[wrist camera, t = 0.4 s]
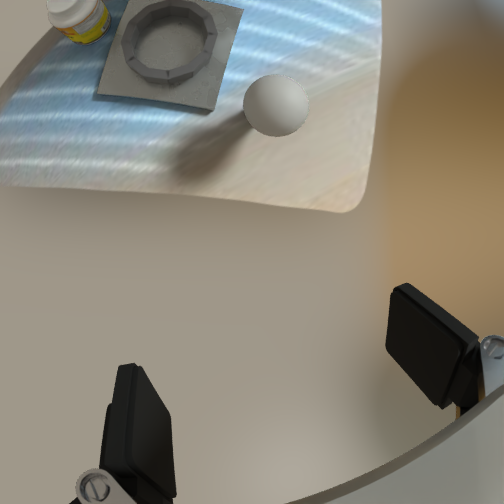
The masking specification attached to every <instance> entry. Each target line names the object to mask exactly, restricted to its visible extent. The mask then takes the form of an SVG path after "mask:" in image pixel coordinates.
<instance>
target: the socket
mask: <svg viewBox="0 0 504 504" xmlns="http://www.w3.org/2000/svg"><path fill="white" fill-rule="evenodd" d="M168 16H177V17H184V18H189V19H190V20H192V21H193V22H194V23H196V24H197V25H198V26H200V27H201V28H202V31H203V34H204V37H205V40H206V42H205V45H204V49H203V51H202V52H201V53H200V54H198V55H197V56H196V57H195V58H194V59H193V60H192V61H191V62H190V63H189V64H186V65H183V66H180V67H177V68H174V69H170V70H162V69H155V68H148V67H147V66H145V65H144V64H143V63H142V62H140V61H139V60H138V59H137V57H136V53H135V50H134V48H135V45H136V42H137V39H138V37H139V34H140V33H141V32H142V31H143V30H144V29H145V28H146V27H147V26H148V25H149V24H151V23H152V22H153V21H155V20H159V19H162V18H165V17H168ZM217 36H218V32H217V29H216V26H215V23H214V20H213V17H212V15H211V14H210V13H209V12H208V11H206V10H205V9H204V8H202V7H201V6H199V5H198V4H197V3H195V2H192V1H186V0H164V1H160V2H157V3H154V4H151V5H148V6H146V7H145V8H143V9H142V10H141V11H140V12H139V13H138V14H136V15H135V16H134V17H133V18H132V19H131V20H130V21H129V22H128V24H127V26H126V29H125V32H124V34H123V37H122V40H121V46H122V50H123V54H124V58H125V61H126V63H127V65H128V66H129V67H130V69H131V70H133V71H134V72H135V73H137V74H138V75H139V76H140V77H142V78H143V79H144V80H145V81H147V82H154V83H161V84H168V85H169V84H173V83H176V82H179V81H183V80H186V79H189V78H192V77H193V76H195V75H196V74H197V73H198V72H199V71H200V70H201V69H202V68H203V67H204V66H205V65H206V64H207V63H208V62H209V61H210V58H211V55H212V52H213V48H214V45H215V42H216V39H217Z"/></svg>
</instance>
